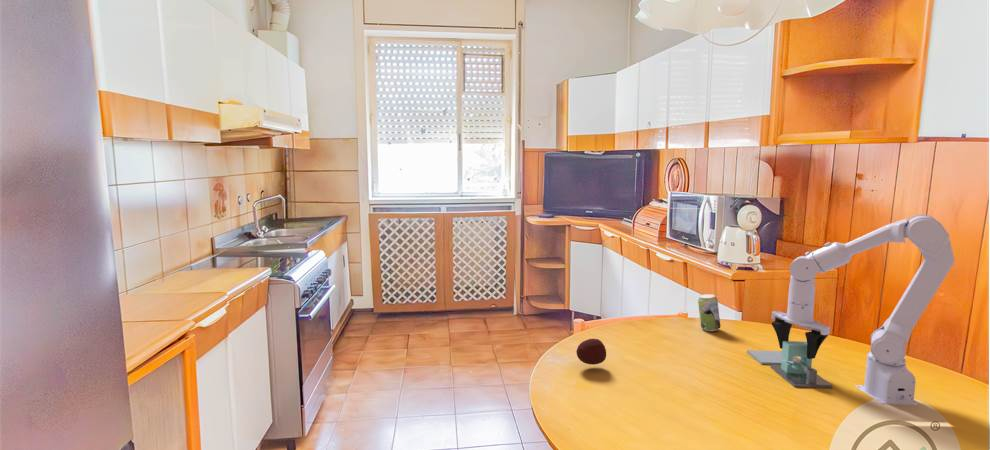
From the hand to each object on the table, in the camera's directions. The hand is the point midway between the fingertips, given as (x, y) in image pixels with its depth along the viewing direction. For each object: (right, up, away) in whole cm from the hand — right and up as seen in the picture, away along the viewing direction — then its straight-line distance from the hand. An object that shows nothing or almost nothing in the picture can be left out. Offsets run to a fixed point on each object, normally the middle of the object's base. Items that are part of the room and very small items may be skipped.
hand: (796, 352), depth 127 cm
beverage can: (-7, -2, +36) cm, 37 cm away
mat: (+1, -5, +11) cm, 12 cm away
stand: (0, -6, -1) cm, 6 cm away
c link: (0, -5, +1) cm, 5 cm away
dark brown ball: (-53, -5, +8) cm, 53 cm away
